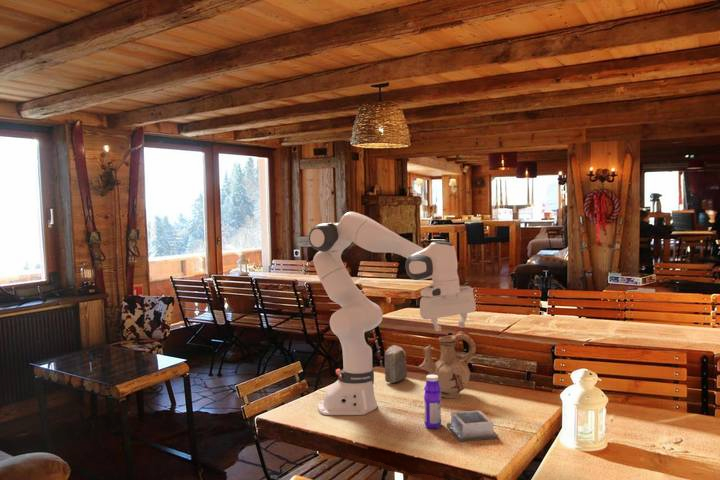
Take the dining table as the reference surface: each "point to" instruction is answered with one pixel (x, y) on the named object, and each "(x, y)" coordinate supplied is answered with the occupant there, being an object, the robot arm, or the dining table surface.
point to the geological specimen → (395, 364)
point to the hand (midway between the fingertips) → (450, 329)
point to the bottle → (432, 402)
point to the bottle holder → (471, 426)
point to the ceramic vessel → (450, 365)
